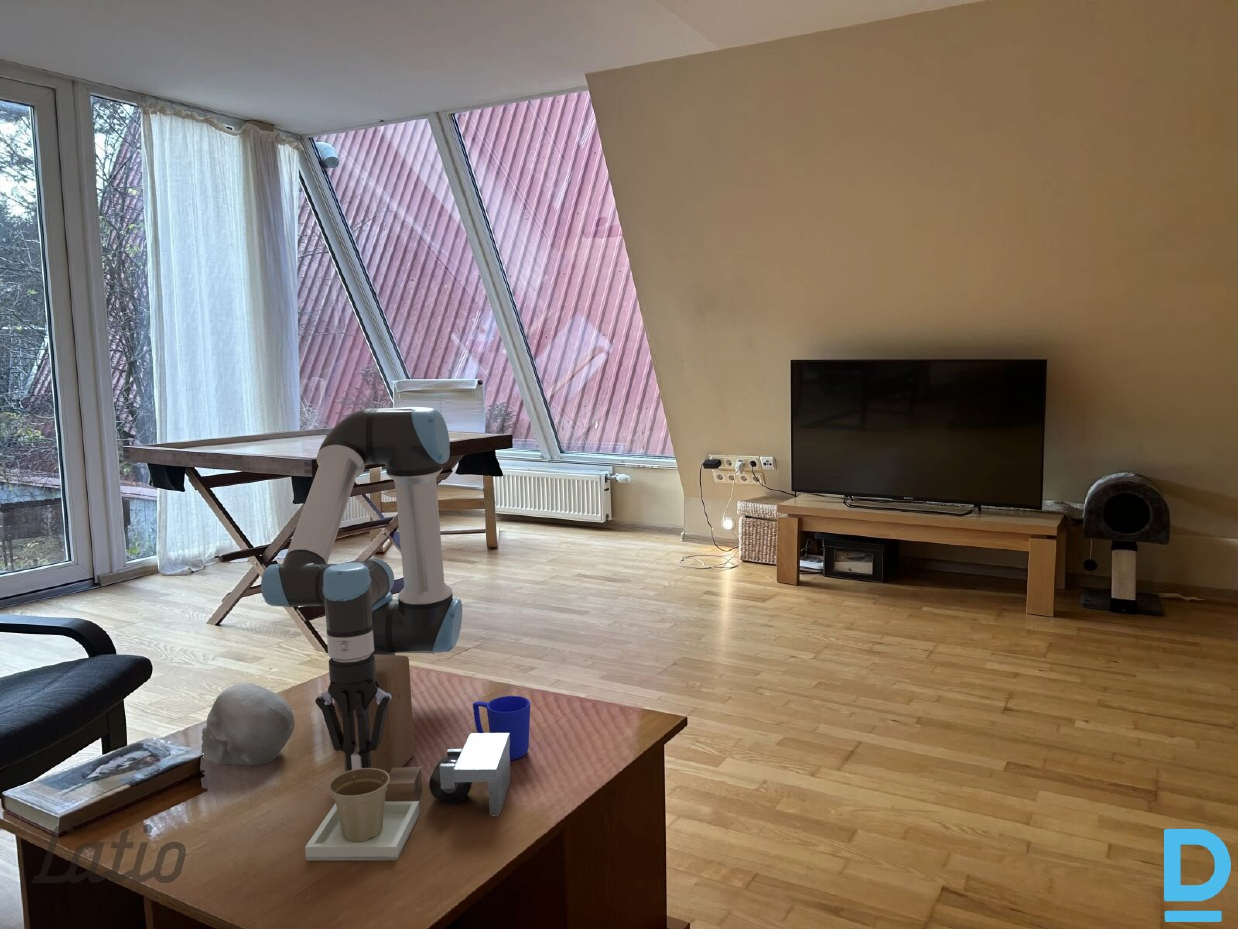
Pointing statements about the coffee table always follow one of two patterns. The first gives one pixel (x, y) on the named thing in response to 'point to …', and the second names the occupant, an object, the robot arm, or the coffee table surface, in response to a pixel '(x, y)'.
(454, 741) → the coffee table surface
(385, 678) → the wooden block
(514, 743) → the mug
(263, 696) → the skull
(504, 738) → the caster wheel
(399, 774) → the block
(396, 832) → the tray
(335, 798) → the flower pot
